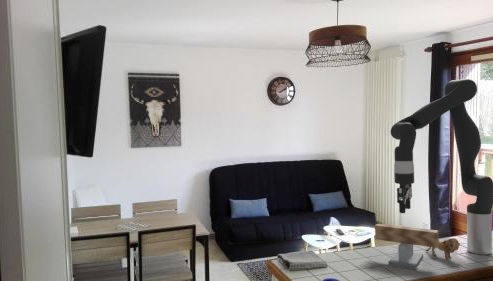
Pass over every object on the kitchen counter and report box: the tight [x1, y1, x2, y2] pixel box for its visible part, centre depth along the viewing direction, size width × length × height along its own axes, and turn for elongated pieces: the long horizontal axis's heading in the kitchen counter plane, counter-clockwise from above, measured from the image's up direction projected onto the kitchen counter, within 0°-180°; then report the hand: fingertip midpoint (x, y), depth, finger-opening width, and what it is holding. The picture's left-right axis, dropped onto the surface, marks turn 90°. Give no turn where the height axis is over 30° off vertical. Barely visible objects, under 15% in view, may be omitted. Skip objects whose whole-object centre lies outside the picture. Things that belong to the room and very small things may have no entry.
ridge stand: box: [388, 243, 424, 271], centre depth 162 cm, size 16×10×8 cm, turn 145°
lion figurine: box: [425, 237, 461, 261], centre depth 166 cm, size 15×5×9 cm, turn 33°
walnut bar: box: [374, 223, 440, 249], centre depth 162 cm, size 24×4×6 cm, turn 55°
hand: (405, 210), depth 161 cm, fingers open, 8 cm apart
